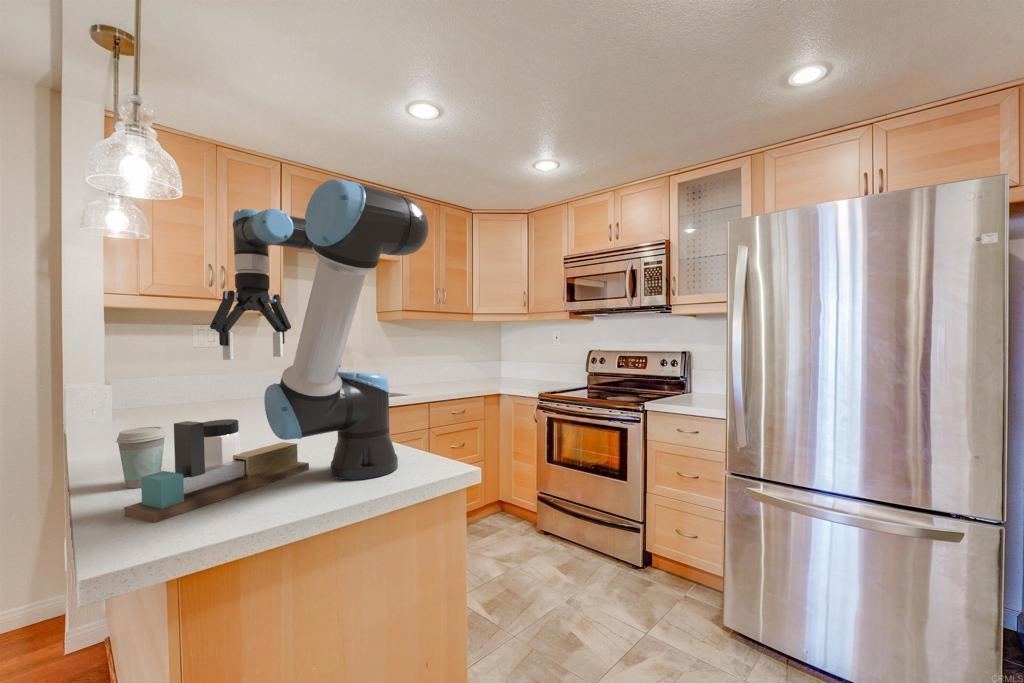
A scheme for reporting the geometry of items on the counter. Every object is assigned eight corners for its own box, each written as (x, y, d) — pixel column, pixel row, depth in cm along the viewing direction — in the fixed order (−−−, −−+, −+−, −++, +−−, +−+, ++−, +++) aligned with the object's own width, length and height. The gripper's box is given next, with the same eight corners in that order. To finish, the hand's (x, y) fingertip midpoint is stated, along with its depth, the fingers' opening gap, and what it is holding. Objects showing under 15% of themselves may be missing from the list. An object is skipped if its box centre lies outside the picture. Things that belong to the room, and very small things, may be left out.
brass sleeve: (283, 461, 110) (282, 442, 110) (297, 463, 108) (297, 443, 108) (233, 477, 98) (232, 455, 98) (248, 479, 96) (247, 457, 96)
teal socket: (164, 497, 86) (163, 470, 86) (183, 501, 84) (183, 474, 84) (142, 504, 83) (141, 476, 83) (161, 508, 81) (160, 480, 80)
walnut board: (282, 465, 112) (282, 459, 112) (309, 469, 108) (308, 462, 108) (124, 515, 82) (124, 507, 82) (154, 522, 78) (154, 514, 78)
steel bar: (248, 468, 102) (247, 410, 101) (264, 470, 100) (262, 411, 100) (147, 498, 83) (145, 428, 83) (164, 502, 81) (161, 430, 81)
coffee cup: (126, 493, 94) (124, 435, 94) (111, 486, 98) (109, 431, 98) (174, 481, 101) (173, 428, 101) (158, 475, 106) (156, 424, 105)
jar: (225, 466, 113) (223, 418, 113) (249, 468, 110) (247, 419, 110) (188, 476, 104) (187, 425, 104) (213, 480, 101) (212, 426, 101)
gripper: (284, 279, 126) (286, 355, 127) (190, 268, 103) (193, 360, 104) (303, 277, 123) (306, 355, 124) (211, 265, 100) (214, 361, 101)
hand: (254, 358), depth 114 cm, fingers open, 13 cm apart
